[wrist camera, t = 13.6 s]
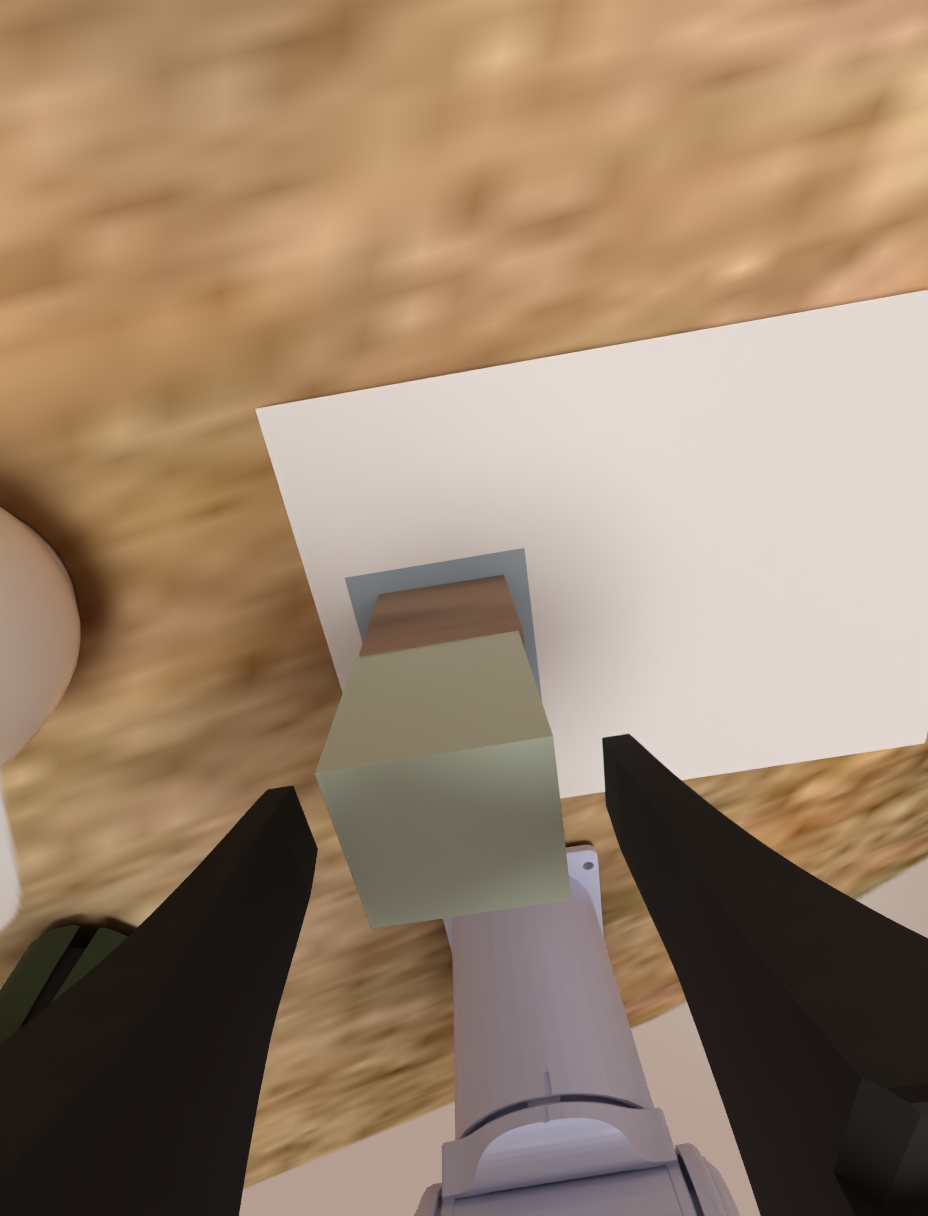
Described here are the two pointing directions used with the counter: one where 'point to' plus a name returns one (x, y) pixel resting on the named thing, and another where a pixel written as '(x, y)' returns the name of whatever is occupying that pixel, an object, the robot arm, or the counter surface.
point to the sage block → (445, 783)
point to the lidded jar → (32, 634)
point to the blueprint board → (654, 530)
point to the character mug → (49, 973)
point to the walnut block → (441, 615)
